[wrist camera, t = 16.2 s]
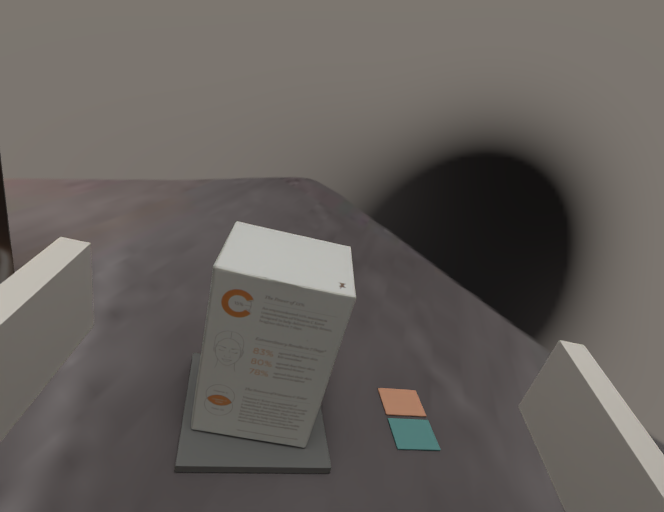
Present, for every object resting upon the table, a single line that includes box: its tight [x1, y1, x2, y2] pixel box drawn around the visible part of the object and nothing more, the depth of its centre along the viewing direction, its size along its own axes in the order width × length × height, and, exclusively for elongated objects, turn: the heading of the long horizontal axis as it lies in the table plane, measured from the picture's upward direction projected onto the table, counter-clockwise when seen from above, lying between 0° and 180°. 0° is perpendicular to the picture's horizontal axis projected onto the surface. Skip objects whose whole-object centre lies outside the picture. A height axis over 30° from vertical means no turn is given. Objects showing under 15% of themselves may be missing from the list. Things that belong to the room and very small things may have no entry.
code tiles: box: [378, 388, 440, 451], centre depth 36 cm, size 4×6×1 cm, turn 10°
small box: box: [191, 221, 356, 448], centre depth 29 cm, size 8×6×13 cm
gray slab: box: [175, 353, 331, 473], centre depth 33 cm, size 10×10×1 cm
